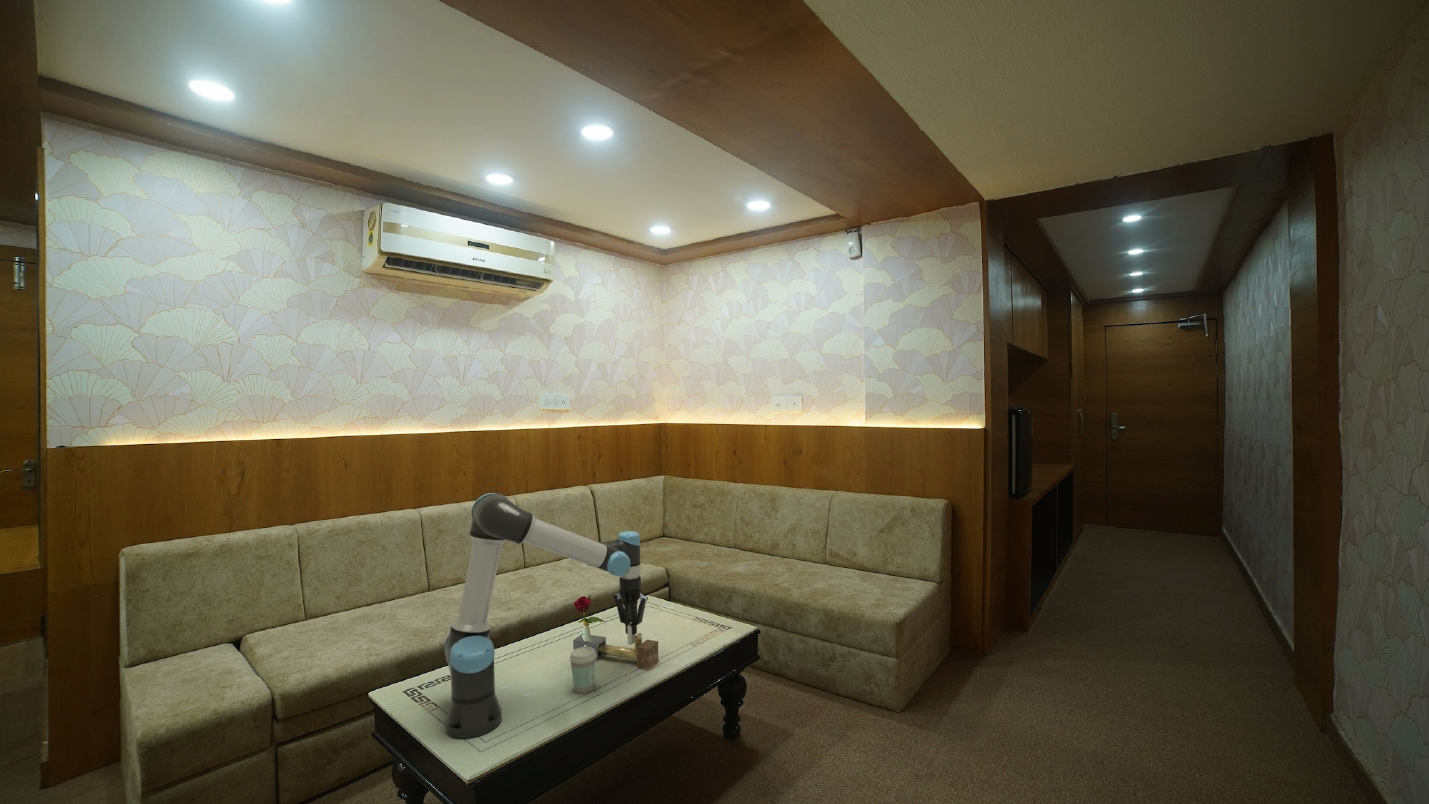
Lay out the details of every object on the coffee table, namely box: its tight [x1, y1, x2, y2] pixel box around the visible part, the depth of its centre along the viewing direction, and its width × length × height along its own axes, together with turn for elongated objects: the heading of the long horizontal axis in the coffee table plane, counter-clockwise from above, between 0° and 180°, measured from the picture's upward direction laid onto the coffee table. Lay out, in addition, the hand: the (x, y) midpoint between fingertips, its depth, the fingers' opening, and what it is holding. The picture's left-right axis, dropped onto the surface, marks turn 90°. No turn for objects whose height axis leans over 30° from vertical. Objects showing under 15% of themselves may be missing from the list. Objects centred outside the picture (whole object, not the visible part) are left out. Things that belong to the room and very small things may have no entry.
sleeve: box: [572, 633, 607, 662], centre depth 217 cm, size 10×6×6 cm, turn 69°
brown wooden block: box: [637, 639, 659, 671], centre depth 209 cm, size 4×7×7 cm, turn 159°
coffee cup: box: [569, 647, 597, 694], centre depth 192 cm, size 9×8×12 cm
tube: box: [598, 632, 643, 663], centre depth 213 cm, size 23×3×9 cm, turn 69°
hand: (631, 643), depth 211 cm, fingers closed
